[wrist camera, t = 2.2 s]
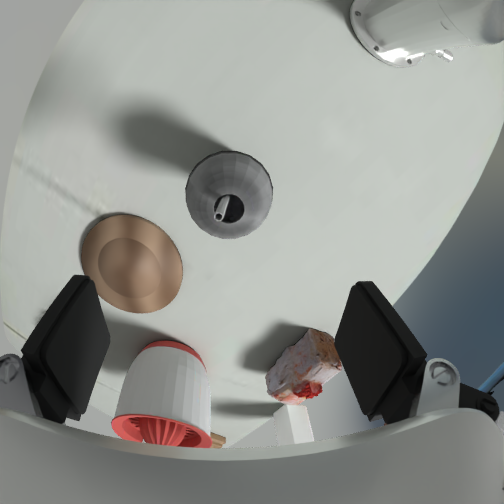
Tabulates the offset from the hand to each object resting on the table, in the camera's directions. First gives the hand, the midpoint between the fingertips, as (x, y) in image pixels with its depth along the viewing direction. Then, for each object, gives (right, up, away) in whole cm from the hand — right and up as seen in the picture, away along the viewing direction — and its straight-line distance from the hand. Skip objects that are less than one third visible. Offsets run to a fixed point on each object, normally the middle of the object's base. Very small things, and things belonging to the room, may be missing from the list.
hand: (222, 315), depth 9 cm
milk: (+10, -36, +49) cm, 62 cm away
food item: (+10, -17, +39) cm, 44 cm away
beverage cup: (-2, +12, +23) cm, 26 cm away
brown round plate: (-17, 0, +28) cm, 32 cm away
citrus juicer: (-14, -19, +38) cm, 45 cm away
